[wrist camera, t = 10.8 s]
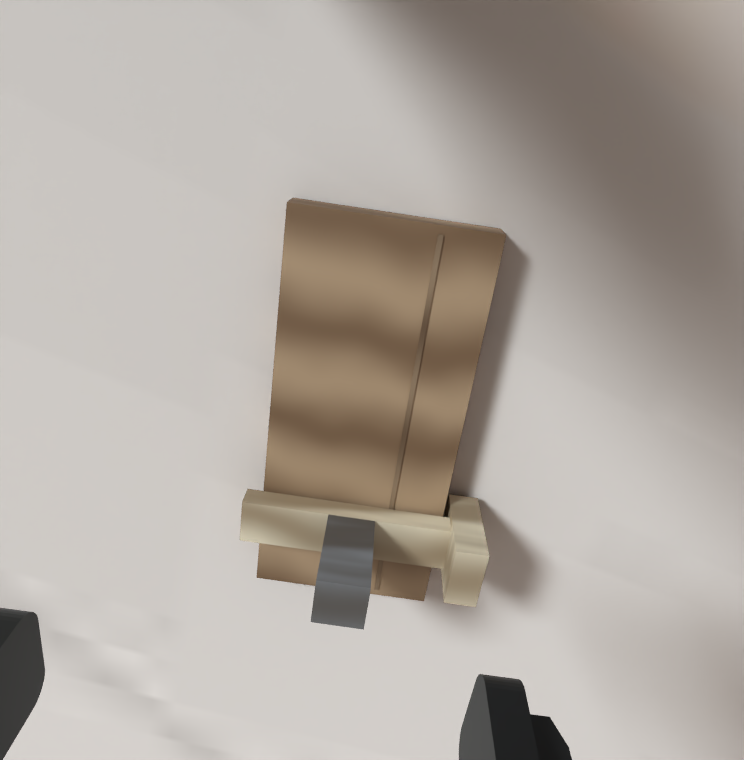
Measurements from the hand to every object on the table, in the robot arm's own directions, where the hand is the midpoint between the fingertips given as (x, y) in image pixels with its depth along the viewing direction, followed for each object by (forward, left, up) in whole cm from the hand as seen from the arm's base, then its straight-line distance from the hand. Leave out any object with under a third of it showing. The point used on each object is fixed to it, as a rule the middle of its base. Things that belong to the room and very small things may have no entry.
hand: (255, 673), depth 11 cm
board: (+8, +2, -28) cm, 29 cm away
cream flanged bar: (+15, +2, -28) cm, 32 cm away
